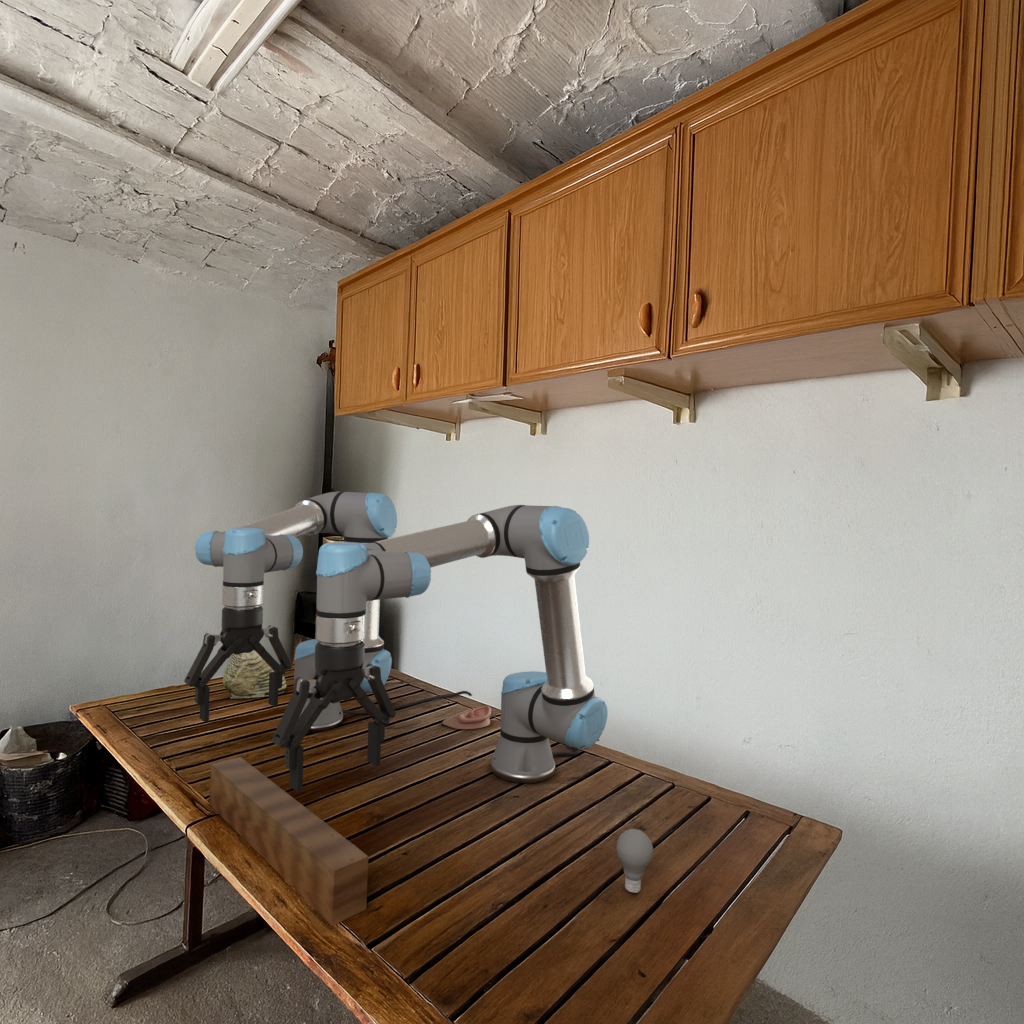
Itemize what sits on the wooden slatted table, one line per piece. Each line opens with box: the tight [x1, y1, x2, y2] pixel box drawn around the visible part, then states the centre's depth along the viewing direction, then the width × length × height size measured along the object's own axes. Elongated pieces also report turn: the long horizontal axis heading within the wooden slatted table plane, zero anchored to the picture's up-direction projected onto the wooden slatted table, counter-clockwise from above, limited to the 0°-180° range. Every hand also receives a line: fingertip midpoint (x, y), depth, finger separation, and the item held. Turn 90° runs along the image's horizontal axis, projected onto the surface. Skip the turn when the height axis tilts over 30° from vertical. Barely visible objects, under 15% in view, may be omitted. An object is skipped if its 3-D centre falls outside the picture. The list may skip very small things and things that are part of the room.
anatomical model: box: [441, 705, 492, 730], centre depth 181 cm, size 13×4×12 cm
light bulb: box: [615, 828, 654, 894], centre depth 106 cm, size 6×6×10 cm
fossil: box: [222, 650, 288, 699], centre depth 198 cm, size 9×18×15 cm, turn 132°
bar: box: [208, 756, 369, 927], centre depth 113 cm, size 49×6×8 cm, turn 45°
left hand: (239, 712), depth 126 cm, fingers open, 13 cm apart
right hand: (336, 775), depth 100 cm, fingers open, 13 cm apart
